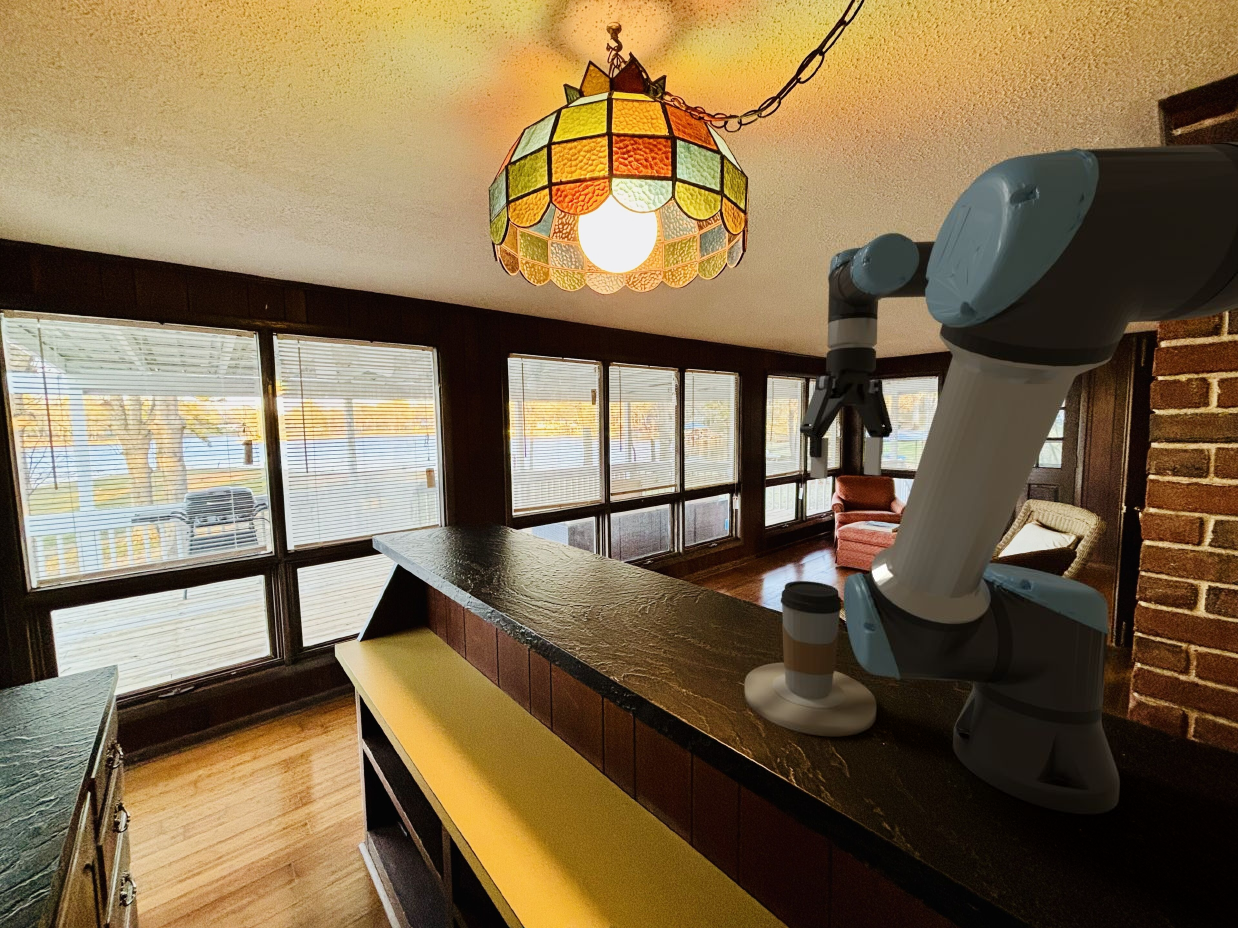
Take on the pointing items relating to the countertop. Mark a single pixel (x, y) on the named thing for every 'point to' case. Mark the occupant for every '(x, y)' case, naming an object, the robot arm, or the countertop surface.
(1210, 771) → the countertop surface
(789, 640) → the coffee cup
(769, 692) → the cream round saucer
